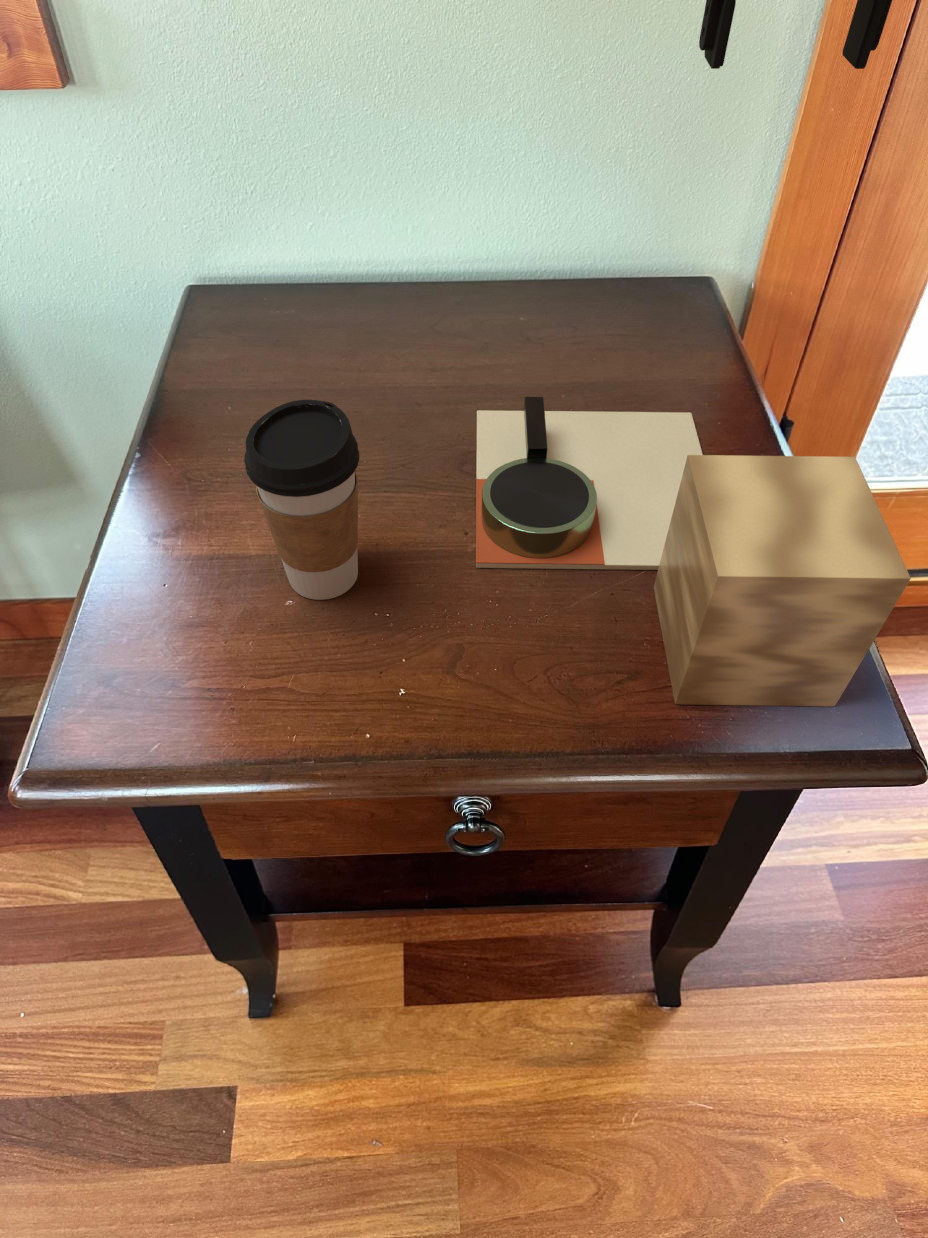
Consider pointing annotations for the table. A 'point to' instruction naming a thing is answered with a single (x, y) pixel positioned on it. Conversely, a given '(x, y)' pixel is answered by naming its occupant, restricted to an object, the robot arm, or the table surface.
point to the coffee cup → (308, 493)
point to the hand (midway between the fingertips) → (782, 62)
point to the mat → (598, 480)
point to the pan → (538, 498)
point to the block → (773, 579)
